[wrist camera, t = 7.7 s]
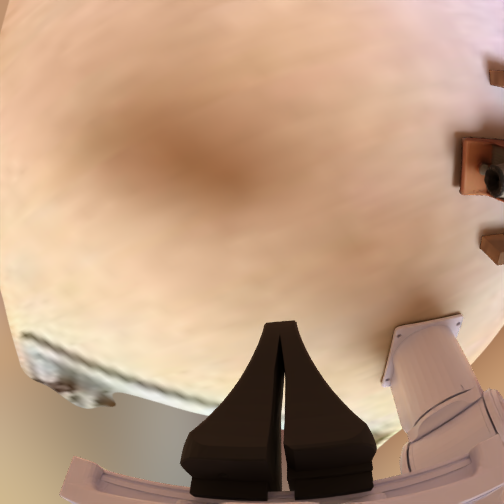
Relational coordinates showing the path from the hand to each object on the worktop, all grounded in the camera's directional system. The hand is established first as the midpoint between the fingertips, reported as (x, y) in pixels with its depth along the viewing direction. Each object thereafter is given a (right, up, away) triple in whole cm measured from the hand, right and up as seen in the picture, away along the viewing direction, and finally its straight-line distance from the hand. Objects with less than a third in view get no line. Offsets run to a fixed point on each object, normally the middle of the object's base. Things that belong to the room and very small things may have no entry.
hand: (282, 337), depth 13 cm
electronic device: (+18, +11, +4) cm, 22 cm away
